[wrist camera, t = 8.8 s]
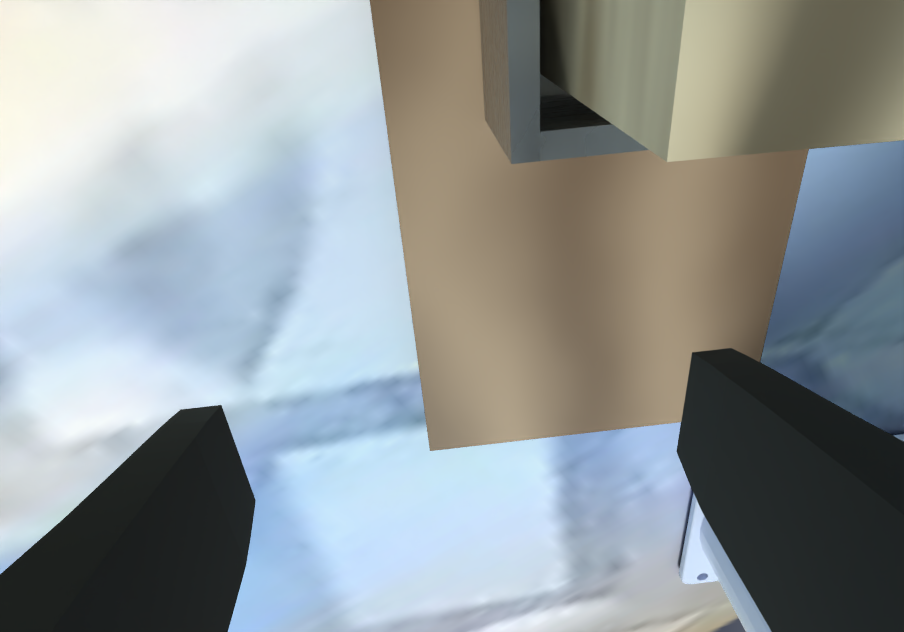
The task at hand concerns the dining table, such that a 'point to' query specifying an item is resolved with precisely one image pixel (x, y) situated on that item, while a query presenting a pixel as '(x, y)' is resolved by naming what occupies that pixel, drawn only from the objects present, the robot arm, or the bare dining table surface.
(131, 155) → the dining table surface
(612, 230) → the plank
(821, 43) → the beige wooden block
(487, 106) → the grey open box
